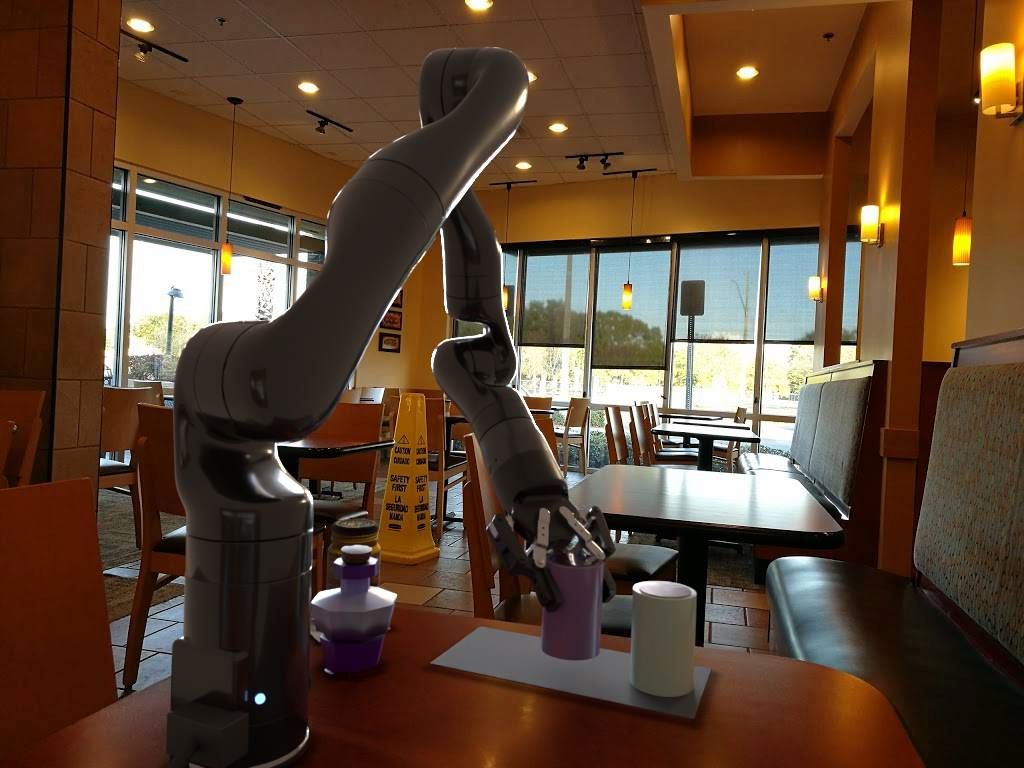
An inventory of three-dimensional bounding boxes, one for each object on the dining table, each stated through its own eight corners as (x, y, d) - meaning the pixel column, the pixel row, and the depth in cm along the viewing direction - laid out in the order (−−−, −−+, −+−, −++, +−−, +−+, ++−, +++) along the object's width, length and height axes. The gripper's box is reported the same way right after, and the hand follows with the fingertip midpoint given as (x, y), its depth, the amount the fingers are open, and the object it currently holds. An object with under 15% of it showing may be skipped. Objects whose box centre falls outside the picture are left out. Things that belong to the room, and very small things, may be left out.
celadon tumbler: (687, 702, 66) (691, 602, 66) (622, 689, 68) (626, 592, 68) (697, 677, 71) (701, 585, 71) (637, 666, 74) (640, 576, 74)
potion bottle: (341, 645, 78) (345, 534, 78) (412, 659, 75) (415, 543, 75) (289, 675, 70) (292, 551, 70) (365, 692, 67) (369, 562, 67)
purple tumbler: (590, 665, 69) (594, 570, 69) (532, 653, 72) (535, 561, 71) (607, 644, 75) (610, 556, 75) (552, 634, 77) (555, 548, 77)
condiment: (391, 630, 83) (394, 525, 83) (318, 643, 79) (321, 532, 78) (366, 611, 89) (369, 514, 89) (298, 622, 85) (301, 520, 84)
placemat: (693, 725, 63) (693, 718, 63) (429, 669, 73) (429, 663, 73) (711, 674, 74) (712, 668, 74) (480, 631, 84) (480, 625, 84)
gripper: (479, 448, 75) (539, 593, 66) (588, 445, 83) (657, 575, 73) (453, 491, 80) (506, 633, 70) (559, 485, 88) (620, 612, 78)
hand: (583, 603), depth 72 cm, fingers closed on purple tumbler, 6 cm apart
